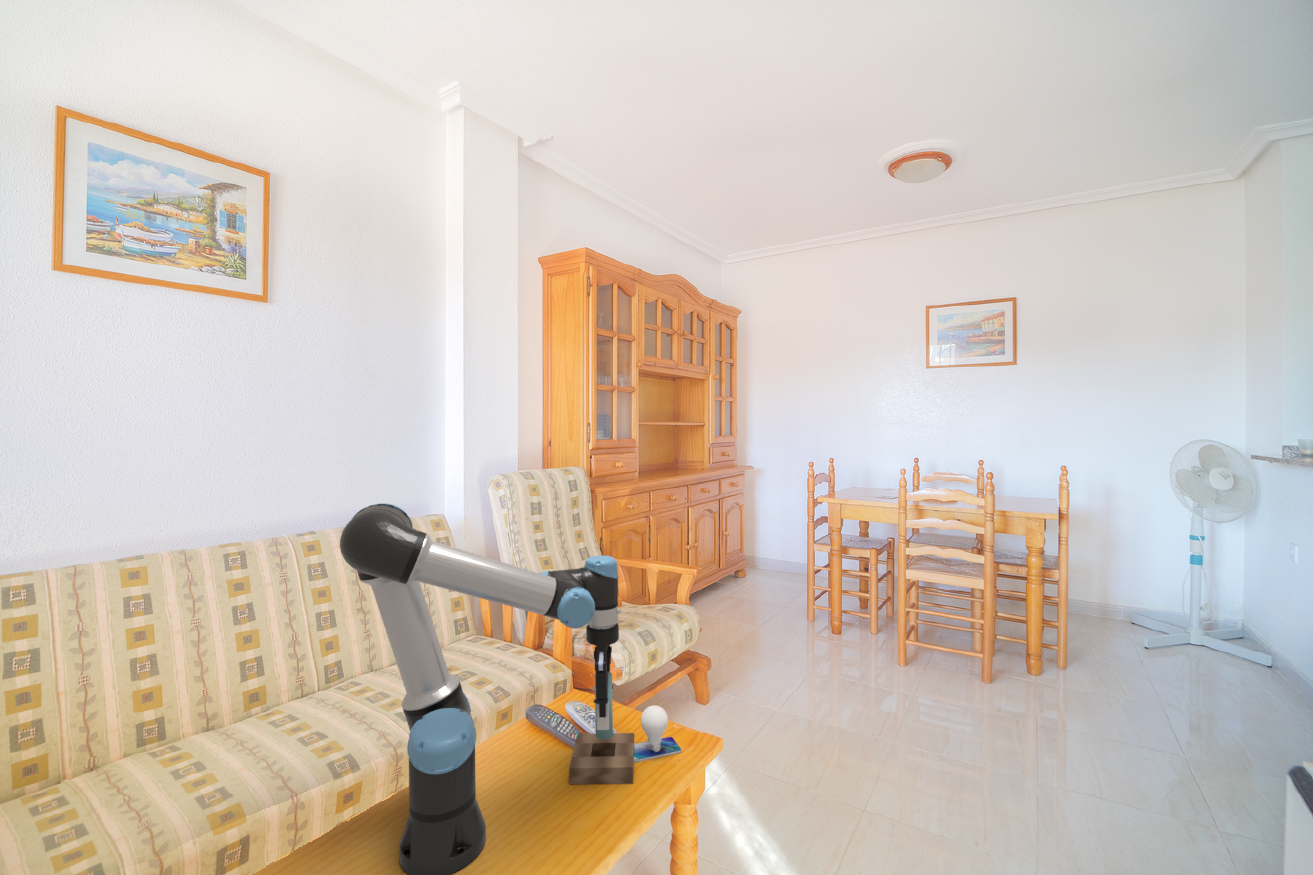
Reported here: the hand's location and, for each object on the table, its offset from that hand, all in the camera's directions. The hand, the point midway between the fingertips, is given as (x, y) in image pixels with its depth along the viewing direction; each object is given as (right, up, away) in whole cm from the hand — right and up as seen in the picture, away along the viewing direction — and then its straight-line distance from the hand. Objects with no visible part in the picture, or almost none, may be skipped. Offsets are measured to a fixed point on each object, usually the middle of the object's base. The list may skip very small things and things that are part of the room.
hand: (603, 723), depth 130 cm
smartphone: (+10, -10, +6) cm, 16 cm away
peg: (0, -3, 0) cm, 3 cm away
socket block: (0, -10, 0) cm, 10 cm away
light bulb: (+12, -10, +5) cm, 16 cm away
